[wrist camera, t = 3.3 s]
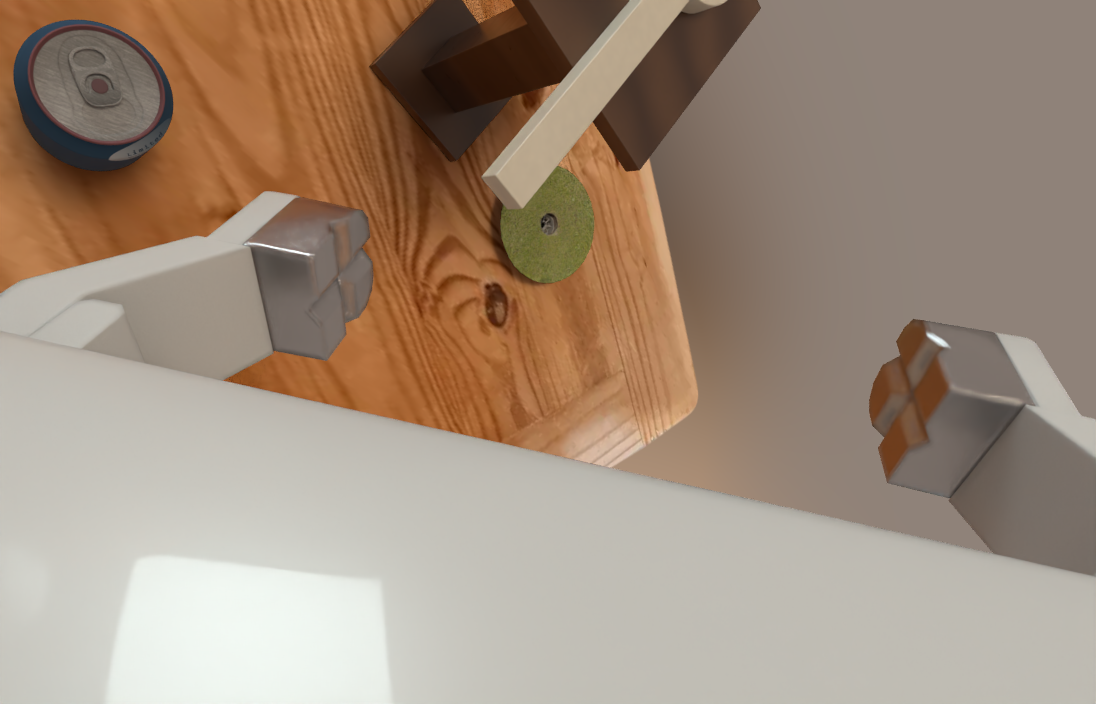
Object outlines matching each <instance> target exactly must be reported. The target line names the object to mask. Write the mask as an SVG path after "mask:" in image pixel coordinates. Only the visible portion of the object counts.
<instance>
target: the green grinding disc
mask: <svg viewBox="0 0 1096 704" xmlns="http://www.w3.org/2000/svg"><path fill="white" fill-rule="evenodd" d="M591 206H592V204H591V201H590V199H589V196H588V194H587V192H586V190H585V189H584V187H583V185H582V184H581V182H579V180H577V178H576V177H575V176H574V175H573V174H572V173H571V172H569V171H568V170H566V169H564V168H561V167H559V166H557V167H556V168H555V169H554V170H553V172H552V173H551V174H550V175H549V177H548V178H547V179H546V180H545V182H544V183H543V184H542V185H541V187H540V188H539V189H538V190H537V192H536V193H535V194H534V195H533V197H532V198H531V199H530V200H529V202H528V203H527V204H526V205H525V207H524V208H523V209H507V208H506V207H505V206H504V204H503V208H502V211H501V220H500V223H501V225H500V227H501V238H502V240H503V243H504V247H505V250H506V252H507V254H508V257H509V258H510V260H511V262H512V263H513V265H514V266H515V267H516V268H517V269H518V270H519V272H521V273H522V274H524V275H525V276H526V277H528V278H529V279H532V280H534V281H537V282H542V283H553V282H556V281H561V280H563V279H565V278H567V277H569V276H570V275H571V274H573V273H574V272H575V271H576V270H577V269H578V268H579V267H580V265H581V264H582V263H583V262H584V260H585V258H586V256H587V254H588V252H589V250H590V247H591V244H592V240H593V233H594V232H593V231H594V217H593V216H594V214H593V209H592V207H591Z"/></svg>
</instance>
